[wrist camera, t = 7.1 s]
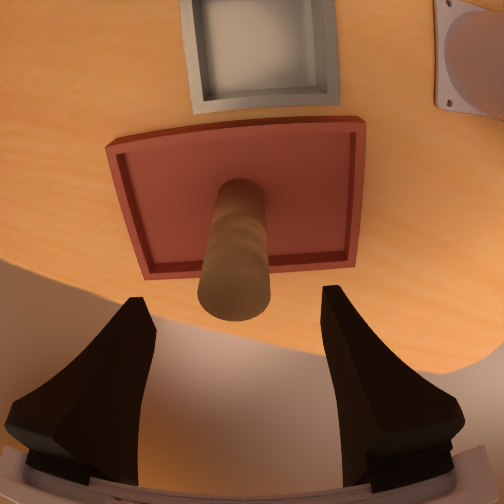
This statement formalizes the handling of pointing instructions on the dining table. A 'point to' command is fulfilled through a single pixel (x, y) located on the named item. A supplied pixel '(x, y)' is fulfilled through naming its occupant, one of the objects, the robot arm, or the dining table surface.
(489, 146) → the dining table surface
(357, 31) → the dining table surface
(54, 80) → the dining table surface
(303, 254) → the tray
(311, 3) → the grey open box
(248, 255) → the dowel
